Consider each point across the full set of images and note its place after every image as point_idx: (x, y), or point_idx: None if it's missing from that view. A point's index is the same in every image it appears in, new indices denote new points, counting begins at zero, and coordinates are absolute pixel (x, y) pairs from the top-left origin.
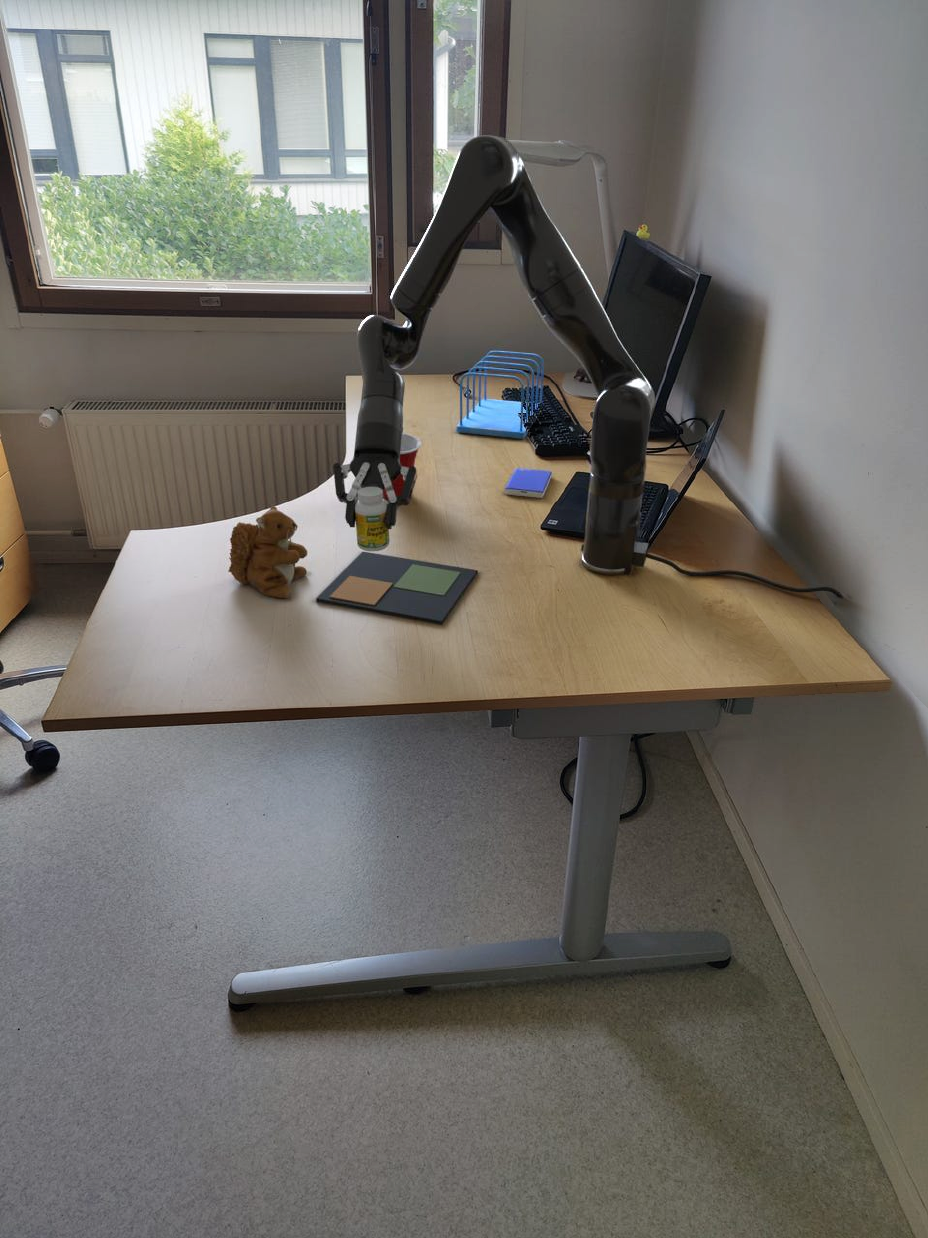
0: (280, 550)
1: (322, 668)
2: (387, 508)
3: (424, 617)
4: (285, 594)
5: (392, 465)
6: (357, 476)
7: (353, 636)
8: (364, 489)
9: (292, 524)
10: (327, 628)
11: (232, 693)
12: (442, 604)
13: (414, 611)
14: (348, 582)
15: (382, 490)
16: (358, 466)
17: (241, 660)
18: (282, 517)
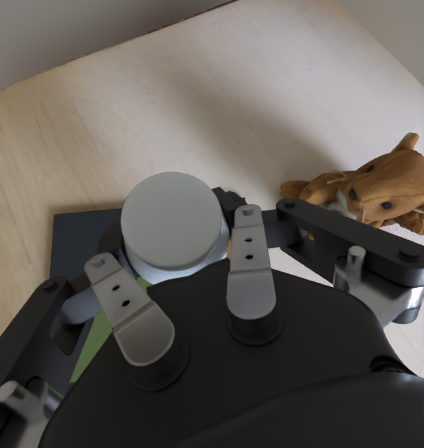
0: (334, 182)
1: (155, 87)
2: (119, 239)
3: (81, 213)
4: (283, 183)
5: (91, 415)
6: (263, 248)
7: (155, 148)
8: (201, 221)
9: (353, 186)
10: (193, 151)
11: (211, 32)
12: (67, 258)
13: (100, 221)
14: (229, 254)
15: (127, 243)
16: (305, 305)
17: (238, 71)
18: (382, 171)
